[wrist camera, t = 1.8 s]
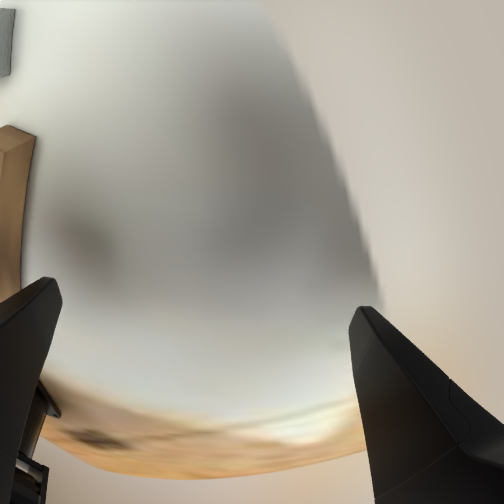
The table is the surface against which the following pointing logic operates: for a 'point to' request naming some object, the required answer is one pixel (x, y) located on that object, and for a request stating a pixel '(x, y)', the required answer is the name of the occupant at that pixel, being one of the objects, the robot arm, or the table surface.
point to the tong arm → (12, 204)
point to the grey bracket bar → (6, 39)
